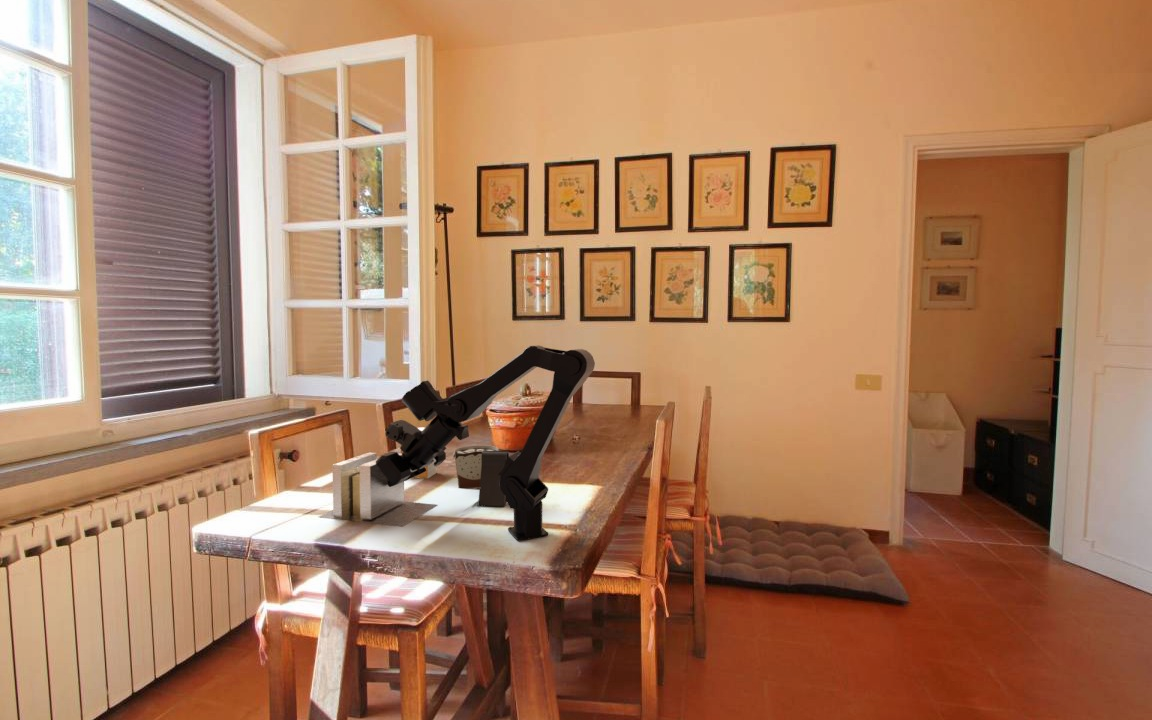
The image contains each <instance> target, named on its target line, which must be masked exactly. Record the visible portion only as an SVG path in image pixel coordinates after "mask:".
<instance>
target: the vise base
mask: <svg viewBox="0 0 1152 720" xmlns="http://www.w3.org/2000/svg"><path fill="white" fill-rule="evenodd" d="M376 459H378V458H377V452H366V453H363V454H359V455H358V456H354V457H351V458H349V459H346V460H342V461H340V462H337V463H333V464H332V502H333V503H332V506H333V507H332V510H330V511H328V512H326V513H324V514H321V515H320V516H318V518H322V519H331V520H339V521H340V520H341V521H348V522H355V523H357V522H358V523H366V524H374V525H376V524H377V525H384V526H391V527H392V526H393V527H401V528H402V527H404V526H406V525H407V524H409V523H411V522H413V521H414V520H416V519H418V518H419V517H421V516H422V515H424V514H425V513H427V512H429V511H431V510H433V509H434V508H435V507H437V506H438V504H433V503H423V502H413V501H404V502H403V503H401V504H399V505H397V506H395V507H394V508H392V509H390V510H388V511H386V512H384V513H382V514H380V515H379V516H377V517H375V518H373V519H362V518H360V514H355V513H353V476H354V475H357V474H360V465H363V464H365V463H368V462H371V461H373V460H376Z"/></svg>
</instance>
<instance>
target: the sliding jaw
mask: <svg viewBox="0 0 1152 720" xmlns="http://www.w3.org/2000/svg"><path fill="white" fill-rule="evenodd" d="M397 453H398V454H399V455H400V456H401V455H402V453H401V452H397ZM378 459H379V458H377V459H376V460H373V461H371V462H368V463H365V464H363V465H360V518H362V519H373V518H375V517H377V516H379V515H380V514H382V513H384V512H386V511H388V510H390V509H392V508H394V507H395V506H397V505H399V504H401V503H403V502H405V481H404V482H401V483H399V484H397V485H394V486H392V487H389V486H388V485H387V482H388V478H387V477H386V476H385V475H384V474H383V472H382V471H381V470H380V469H379V468H378V466H377V465H376V461H377V460H378Z"/></svg>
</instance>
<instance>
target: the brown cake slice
mask: <svg viewBox="0 0 1152 720" xmlns="http://www.w3.org/2000/svg"><path fill="white" fill-rule="evenodd" d="M483 450H484V451H500V448H499V447H497V446H493V445H485V444H484V445H479V444H477V445H467V446H461V447H457V448H456V449H454V452H453V454H452V459H454V460H455V469H456V477H457V479H456V480H457V487H458V489H461V490H463V489H464V490H474V489H480V478H481V465H482V460H481V456H482V451H483Z"/></svg>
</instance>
